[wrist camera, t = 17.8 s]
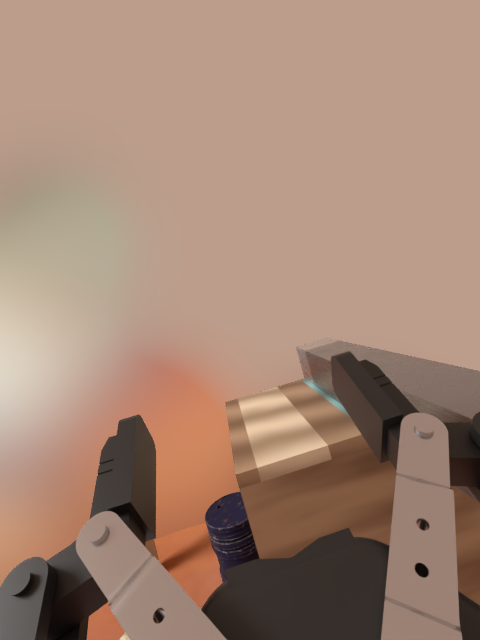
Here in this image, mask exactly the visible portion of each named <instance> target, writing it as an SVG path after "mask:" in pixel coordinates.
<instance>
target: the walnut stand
mask: <svg viewBox="0 0 480 640" xmlns="http://www.w3.org/2000/svg"><path fill="white" fill-rule="evenodd" d="M226 410H227V417H228V424H229V431H230V438H231V446H232V452H233V460H234V467H235V473H236V478H237V481H238V485H239V488H240V492H241V495H242V499H243V502H244V506H245V509H246V513H247V516H248V520H249V523H250V527H251V530H252V534H253V537H254V541H255V544H256V548H257V551H258V555H259V558H260V559H276V558H291V557H293V556H295V555H296V554H297V553H299V552H300V551H301V550H303V549H304V548H306V547H307V546H308V545H310V544H311V543H313V542H314V541H315V540H317V539H318V538H320V537H323V536H326V535H329V534H332V533H334V532H337V531H340V530H343V529H346V528H349V529H350V531H351V533H352V535H353V537H365V538H370V539H374V540H377V541H380V542H382V543H385V544H387V545H390V534H391V523H392V513H393V502H394V491H395V481H396V469H395V467H394V466H393V464H392V463H391V462H390V460H389V461H386V462H383V463H380V462H379V460H378V459H377V457H376V456H375V454H374V453H373V451H372V450H371V448H370V447H369V445H368V444H367V442H366V440H365V439H364V437H363V436H362V434H361V433H360V431H359V430H358V428H357V427H356V425H355V424H354V422H353V421H352V419H351V417H350V416H349V414H348V413H347V411H346V410H345V408H344V407H343V406H342V405H341V404H340V403H338V402H337V401H335V400H334V399H332V398H331V397H330V396H328V395H327V394H325V393H324V392H323V391H321V390H320V389H318V388H317V387H316V386H314V385H313V384H311V383H310V382H309V381H307V380H306V379H301V380H298V381H295V382H291V383H288V384H285V385H282V386H278V387H275V388H272V389H268V390H265V391H261V392H258V393H255V394H252V395H248V396H245V397H242V398H238V399H235V400H232V401H228V402H226ZM450 487H451V488H452V489H453V493H454V508H455V531H456V554H457V577H458V591H459V592H461V593H462V594H464V595H465V596H467V597H468V598H470V599H471V600H473V601H474V602H476V603H477V604H479V605H480V503H479V502H477V501H476V500H475V499H473V498H472V497H470V496H469V495H468V494H466V493H465V492H463V491H462V490H460V489H459V488H458V487H456V486H450Z"/></svg>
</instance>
